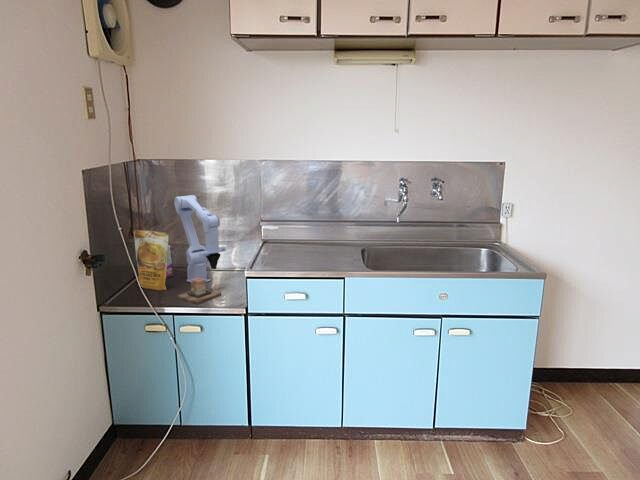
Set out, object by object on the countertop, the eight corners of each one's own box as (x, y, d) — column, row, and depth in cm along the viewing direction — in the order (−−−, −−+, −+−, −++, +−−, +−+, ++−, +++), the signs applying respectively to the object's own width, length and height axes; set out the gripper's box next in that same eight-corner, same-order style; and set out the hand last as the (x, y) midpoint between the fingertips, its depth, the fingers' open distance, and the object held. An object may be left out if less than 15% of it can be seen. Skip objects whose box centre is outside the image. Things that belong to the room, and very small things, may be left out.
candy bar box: (167, 274, 251) (164, 244, 247) (173, 275, 249) (171, 245, 245) (149, 280, 242) (146, 249, 238) (156, 281, 240) (153, 250, 236)
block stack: (191, 294, 219) (190, 279, 217) (199, 291, 222) (198, 277, 220) (198, 296, 216) (197, 281, 214) (205, 293, 219) (205, 279, 218)
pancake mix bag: (142, 282, 238) (137, 228, 231) (174, 287, 231) (169, 231, 225) (133, 287, 232) (127, 231, 225) (165, 292, 225) (160, 234, 218)
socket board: (177, 297, 218) (176, 293, 217) (201, 289, 229) (201, 285, 228) (197, 304, 210) (196, 299, 209) (221, 295, 221) (221, 291, 220)
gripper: (205, 245, 215) (207, 273, 218) (229, 239, 226) (230, 266, 230) (195, 243, 219) (197, 271, 222) (219, 237, 231) (221, 264, 234)
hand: (213, 268), depth 226 cm, fingers closed
